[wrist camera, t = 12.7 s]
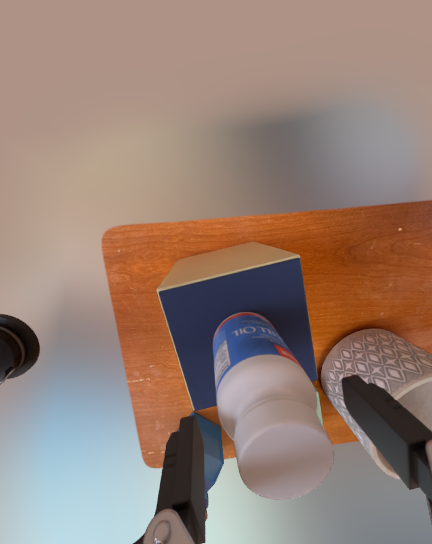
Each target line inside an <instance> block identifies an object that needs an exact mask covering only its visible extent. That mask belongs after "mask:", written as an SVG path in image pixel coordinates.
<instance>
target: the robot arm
mask: <svg viewBox="0 0 432 544" xmlns="http://www.w3.org/2000/svg"><path fill="white" fill-rule="evenodd" d="M26 358H27V347H26V344H25V342H24V340H23V338H22V337H21V336H20V335H19V334H18V333H17V332H16V331H14V330H13V329H11V328H9V327H7V326H4V325H1V324H0V382H1V381H2V380H3V379H4V380H3V381H2V382H1V383H0V385H1V384H2V383H3V382H4V381H5V380H6V379H7V378H8V377H9V376H10V375H11V374H12V373H13V372H15V371H16V370H17V369H19V368H20V367H21V366H22V365H23V364H24V362H25V360H26ZM341 382H342V390H343V399H344V404H345V406H346V409H347V411H348V412H349V414H350V415H351V416H352V418H353V419H354V420H355V421H356V423H357V424H358V425H359V427H360V428H361V429H362V430H363V432H364V433H365V434H366V435H367V437H368V438H369V439H370V440H371V442H372V443H373V444H374V445H375V447H376V448H377V449H378V451H379V452H380V453H381V454H382V456H383V457H384V458H385V459H386V461H387V462H388V463H389V464H390V466H391V467H392V468H393V469H394V471H395V472H396V473H397V474H398V476H399V477H400V478H401V480H402V481H403V482H404V483H405V485H406V486H407V487H408V488H409V490H411V489H415V488H419V487H420V488H421V490H422V491H423V492H424V493H425V494H426V499H427V505H428V509H429V514H430V519H431V523H432V431H431V430H430V429H429V428H427V427H426V426H425V425H424V424H423V423H422V422H421V421H420V420H418V419H417V418H416V417H415V416H414V415H413V414H412V413H411V412H409V411H408V410H407V409H406V408H405V407H403V406H402V405H401V404H400V403H399V402H398V401H397V400H395V399H394V397H392V396H391V395H390V394H389V393H388V392H387V391H386V390H385V389H383V388H381V387H379V386H377V385H376V384H374V383H368V384H367V383H366V382H365V381H364V380H363V379H362V378H361V377H360V376H358V375H352V376H348V377H344V378H342V379H341ZM202 543H205V477H204V444H203V439H202V435H201V432H200V428H199V425H198V422H197V419H196V416H195V415H192V416H188V417H184V418H181V420H180V428H179V431H178V432H174V433H172V434H171V436H170V438H169V440H168V442H167V444H166V451H165V458H164V463H163V469H162V476H161V482H160V489H159V494H158V502H157V507H156V512H155V515H154V518H153V519H152V520H151V522H150V524H149V525H148V527H147V529H146V532H145V533H144V535H143V536H142V537H141V538H140V539H139V540H137V541H136V542H135V543H133V544H202Z"/></svg>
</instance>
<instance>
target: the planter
mask: <svg viewBox="0 0 432 544" xmlns="http://www.w3.org/2000/svg"><path fill="white" fill-rule="evenodd" d="M352 375H358V376H360V377H361V378H362V379H363V380H364V381H365V382H366V383H367V384H368V383H374V384H376V385H377V386H379V387H381V388H383V389H385V390H386V391H387V392H388V393H389V394H390V395H391V396H392V397H394V399H395V400H397V401H398V402H399V403H400V404H401V405H402V406H403V407H405V408H406V409H407V410H408V411H409V412H411V413H412V414H413V415H414V416H415V417H416V418H417V419H418V420H420V421H421V422H422V423H423V424H424V425H425V426H426V427H427V428H429V429H430V430H431V431H432V354H430V353H428V352H426V351H425V350H423V349H421V348H419V347H417V346H416V345H414V344H412V343H410V342H408V341H407V340H405V339H403V338H401V337H399V336H398V335H396V334H394V333H392V332H390V331H387V330H383V329H365V330H361V331H357V332H355V333H352V334H350V335H348V336H347V337H345V338H344V339H342V340H341V341H340V342H338V343H337V344H336V345H335V346H334V347H333V348H332V350H331V351H330V352H329V354H328V355H327V357H326V359H325V361H324V363H323V367H322V371H321V384H322V388H323V391H324V393H325V394H326V396H327V398H328V399H329V400H330V402H331V403H332V404H333V406H334V407H335V408H336V410H337V411H338V412H339V414H340V415H341V416H342V418H343V419H344V421H345V422H346V423H347V425H348V426H349V427H350V429H351V430H352V431H353V433H354V434H355V435H356V437H357V438H358V439H359V441H360V442H361V443H362V445H363V446H364V448H365V449H366V450H367V451H368V453H369V454H370V456H371V457H372V458H373V460H374V461H375V462H376V464H377V465H378V466H379V467H380V468H381V469H382V470H383V471H384V472H385V473H387V474H388V475H390V476H392V477H394V478H397V479H400V480H401V478H400V477H399V476H398V474H397V473H396V472H395V471H394V469H393V468H392V467H391V466H390V464H389V463H388V462H387V461H386V459H385V458H384V457H383V456H382V454H381V453H380V452H379V451H378V449H377V448H376V447H375V445H374V444H373V443H372V442H371V440H370V439H369V438H368V437H367V435H366V434H365V433H364V432H363V430H362V429H361V428H360V427H359V425H358V424H357V423H356V421H355V420H354V419H353V418H352V416H351V415H350V414H349V412H348V411H347V409H346V406H345V404H344V399H343V390H342V382H341V379H342V378H344V377H348V376H352Z"/></svg>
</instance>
